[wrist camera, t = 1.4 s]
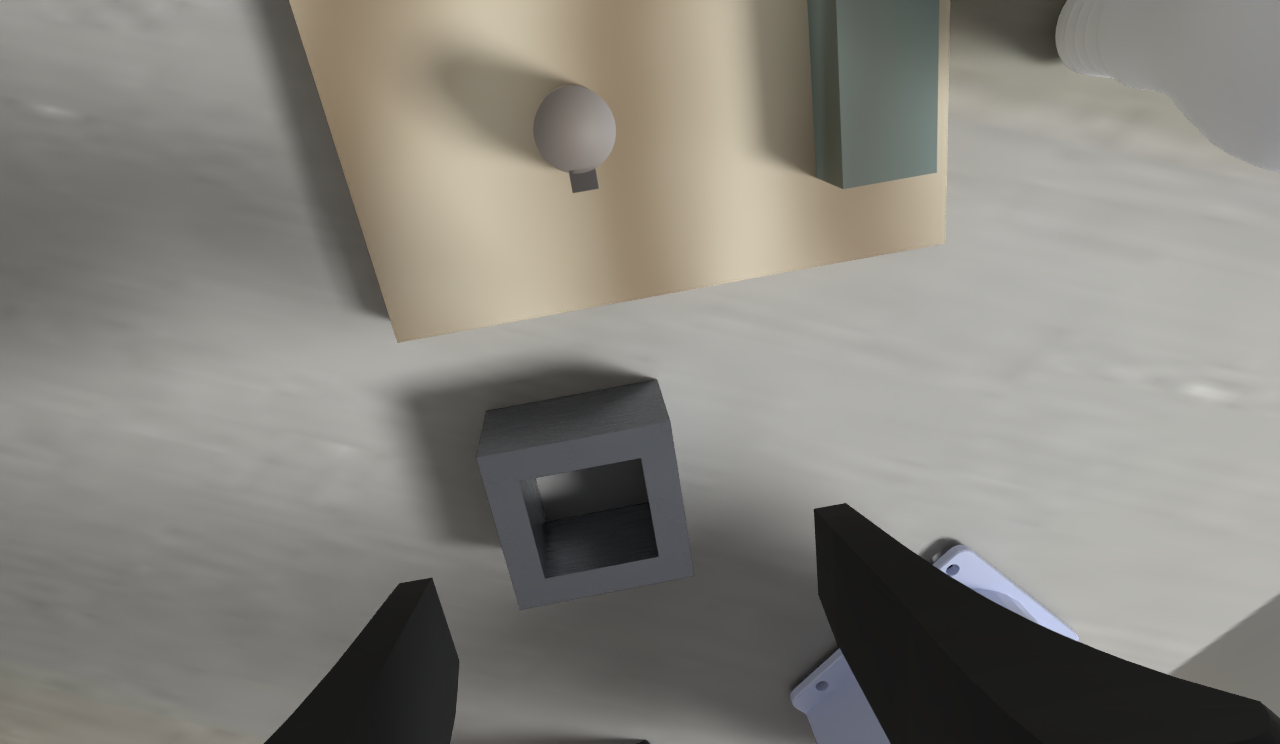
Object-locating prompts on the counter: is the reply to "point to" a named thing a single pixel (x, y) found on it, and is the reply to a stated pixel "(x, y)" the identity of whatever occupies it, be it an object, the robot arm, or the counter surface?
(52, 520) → the counter surface
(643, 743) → the ammunition clip
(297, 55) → the counter surface
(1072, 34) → the lightbulb
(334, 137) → the stand
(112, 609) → the counter surface
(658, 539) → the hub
